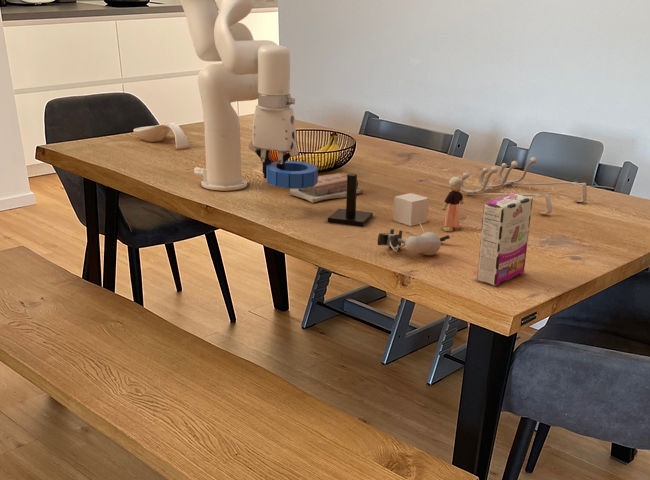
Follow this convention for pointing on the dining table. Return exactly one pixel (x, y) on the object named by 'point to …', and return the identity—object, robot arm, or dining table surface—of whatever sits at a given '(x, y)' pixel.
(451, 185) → the grandmother figurine
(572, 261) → the dining table surface
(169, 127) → the spoon rest
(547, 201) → the over door rack
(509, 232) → the candy bar box
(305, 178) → the tape
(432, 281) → the dining table surface
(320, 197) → the packaged product
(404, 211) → the white cube
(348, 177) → the peg stand
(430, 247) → the clip-on lamp
